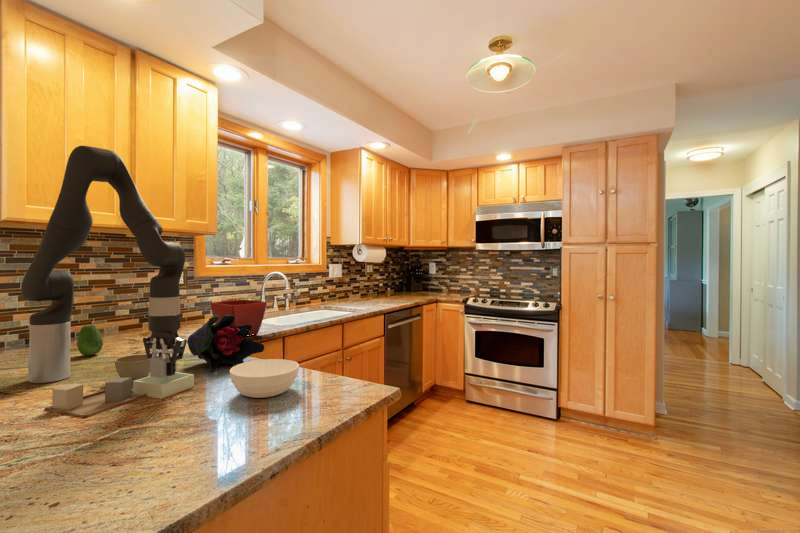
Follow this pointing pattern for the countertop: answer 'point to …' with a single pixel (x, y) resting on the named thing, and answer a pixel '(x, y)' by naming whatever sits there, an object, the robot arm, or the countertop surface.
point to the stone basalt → (118, 389)
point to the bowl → (264, 377)
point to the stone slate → (158, 366)
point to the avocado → (89, 340)
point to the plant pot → (241, 312)
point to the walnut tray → (94, 405)
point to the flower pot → (133, 366)
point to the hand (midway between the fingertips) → (164, 374)
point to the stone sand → (67, 396)
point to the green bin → (163, 385)
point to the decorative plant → (222, 342)
